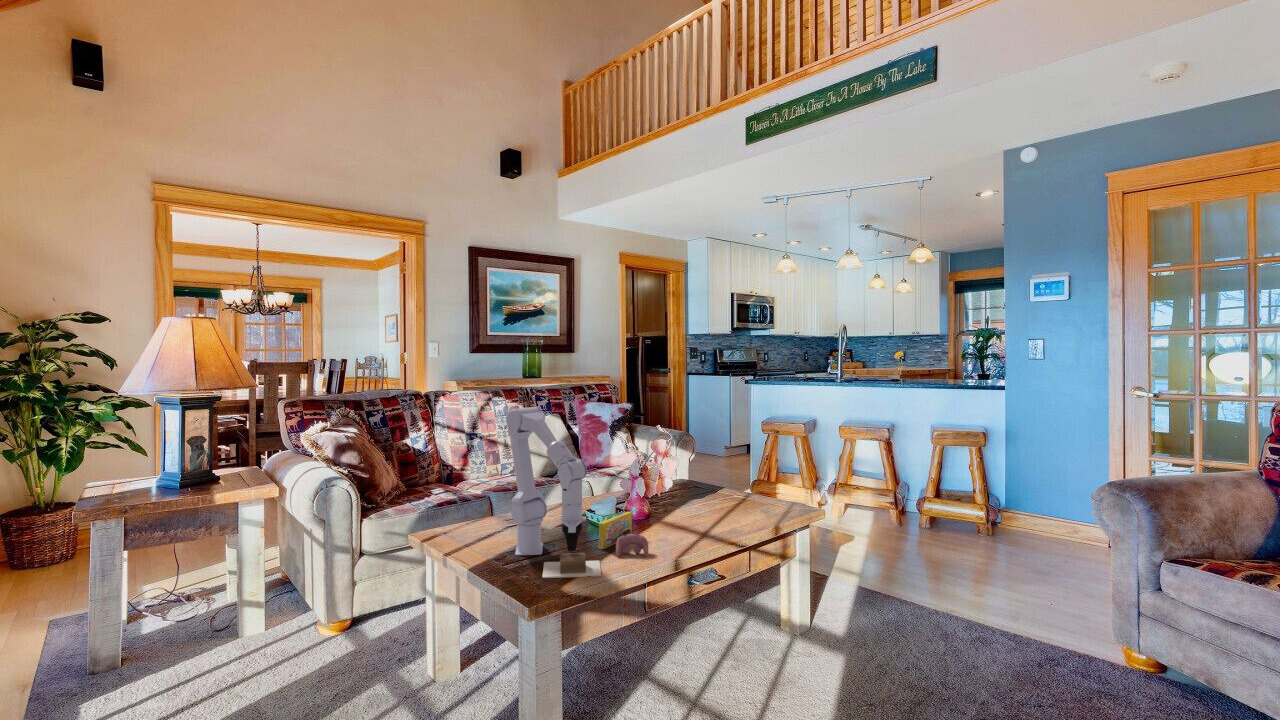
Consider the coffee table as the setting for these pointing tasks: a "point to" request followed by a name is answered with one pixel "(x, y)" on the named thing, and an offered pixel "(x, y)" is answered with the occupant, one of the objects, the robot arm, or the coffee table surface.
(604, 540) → the candy box
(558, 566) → the mat
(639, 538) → the video game controller
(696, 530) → the coffee table surface
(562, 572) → the brown block
